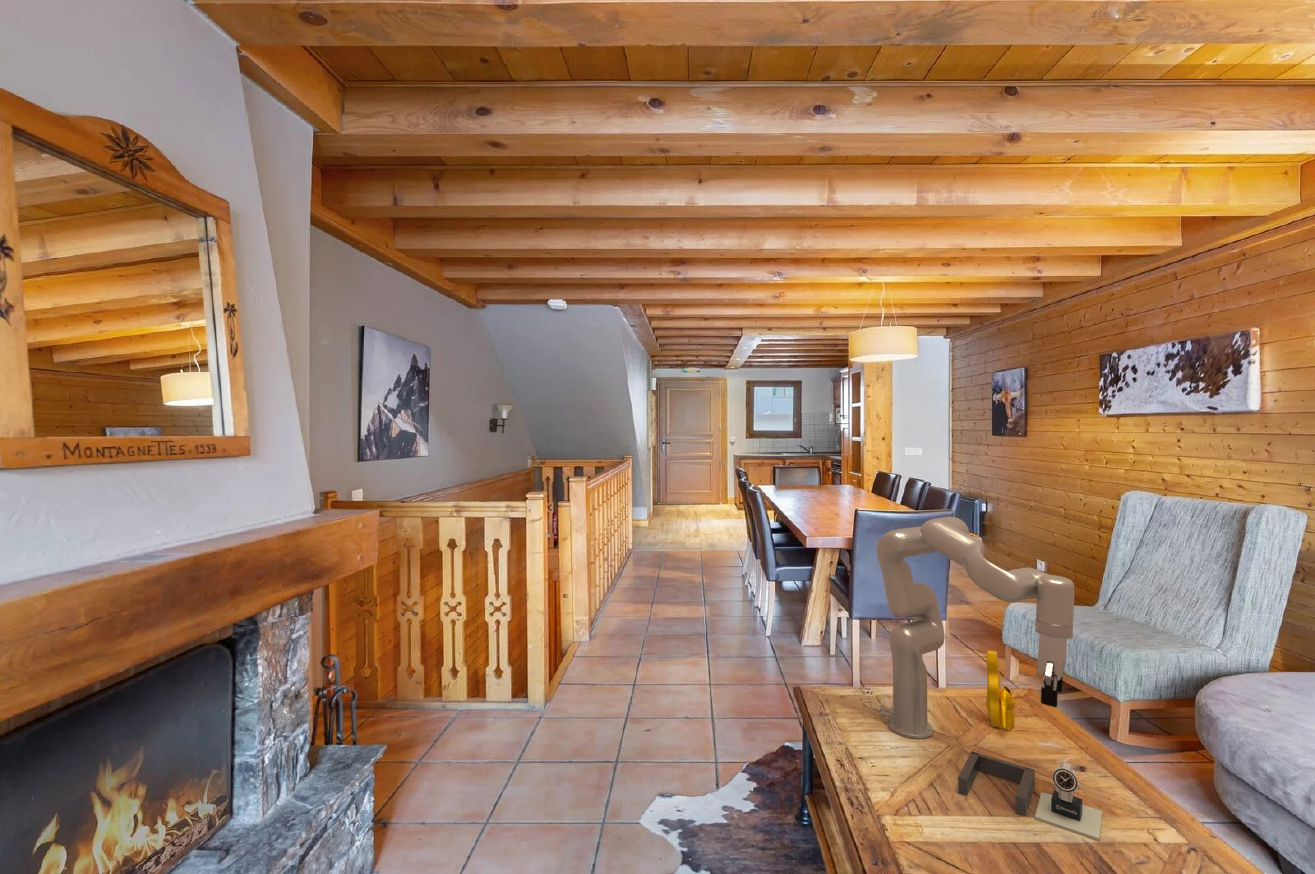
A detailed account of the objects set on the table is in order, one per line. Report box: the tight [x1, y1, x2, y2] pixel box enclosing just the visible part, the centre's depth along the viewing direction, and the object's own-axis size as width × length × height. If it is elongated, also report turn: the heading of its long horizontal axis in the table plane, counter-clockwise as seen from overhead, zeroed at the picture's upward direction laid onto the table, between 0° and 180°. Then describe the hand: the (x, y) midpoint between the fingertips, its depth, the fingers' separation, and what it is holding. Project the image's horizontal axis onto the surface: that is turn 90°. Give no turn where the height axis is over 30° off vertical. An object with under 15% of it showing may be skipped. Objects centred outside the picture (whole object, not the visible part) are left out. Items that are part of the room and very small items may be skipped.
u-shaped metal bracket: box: [957, 750, 1036, 817], centre depth 150 cm, size 14×15×4 cm
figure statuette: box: [985, 649, 1016, 732], centre depth 182 cm, size 18×8×22 cm, turn 144°
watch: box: [1051, 761, 1083, 821], centre depth 140 cm, size 6×8×11 cm
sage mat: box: [1034, 791, 1103, 842], centre depth 139 cm, size 12×12×1 cm
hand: (1051, 697), depth 145 cm, fingers open, 9 cm apart
